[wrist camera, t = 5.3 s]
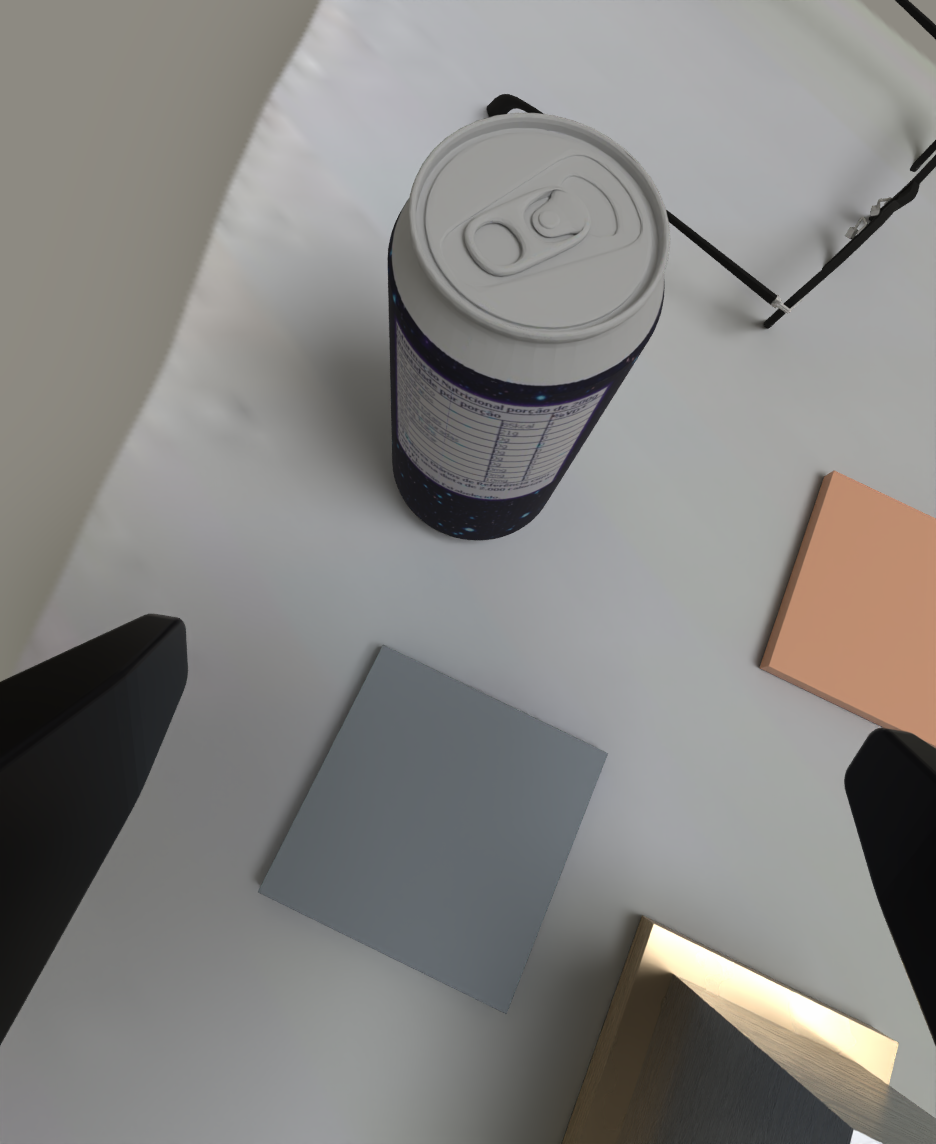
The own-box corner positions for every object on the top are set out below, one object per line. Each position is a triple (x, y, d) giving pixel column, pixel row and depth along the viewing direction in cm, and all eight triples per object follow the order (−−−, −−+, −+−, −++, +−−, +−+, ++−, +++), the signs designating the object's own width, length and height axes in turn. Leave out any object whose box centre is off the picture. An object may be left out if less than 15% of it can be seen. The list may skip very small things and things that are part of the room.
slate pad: (503, 1005, 20) (506, 1014, 19) (262, 887, 20) (257, 892, 19) (602, 752, 22) (608, 753, 21) (383, 647, 22) (383, 645, 21)
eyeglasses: (745, 380, 26) (804, 319, 22) (455, 136, 28) (464, 39, 24) (951, 154, 30) (1032, 69, 26) (688, -49, 32) (728, -158, 28)
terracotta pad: (969, 768, 23) (984, 769, 22) (759, 667, 23) (768, 666, 22) (1016, 568, 25) (1031, 564, 24) (823, 476, 25) (834, 470, 24)
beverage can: (580, 500, 24) (750, 277, 12) (445, 576, 23) (493, 409, 11) (497, 375, 25) (584, 57, 13) (363, 442, 24) (328, 158, 12)
